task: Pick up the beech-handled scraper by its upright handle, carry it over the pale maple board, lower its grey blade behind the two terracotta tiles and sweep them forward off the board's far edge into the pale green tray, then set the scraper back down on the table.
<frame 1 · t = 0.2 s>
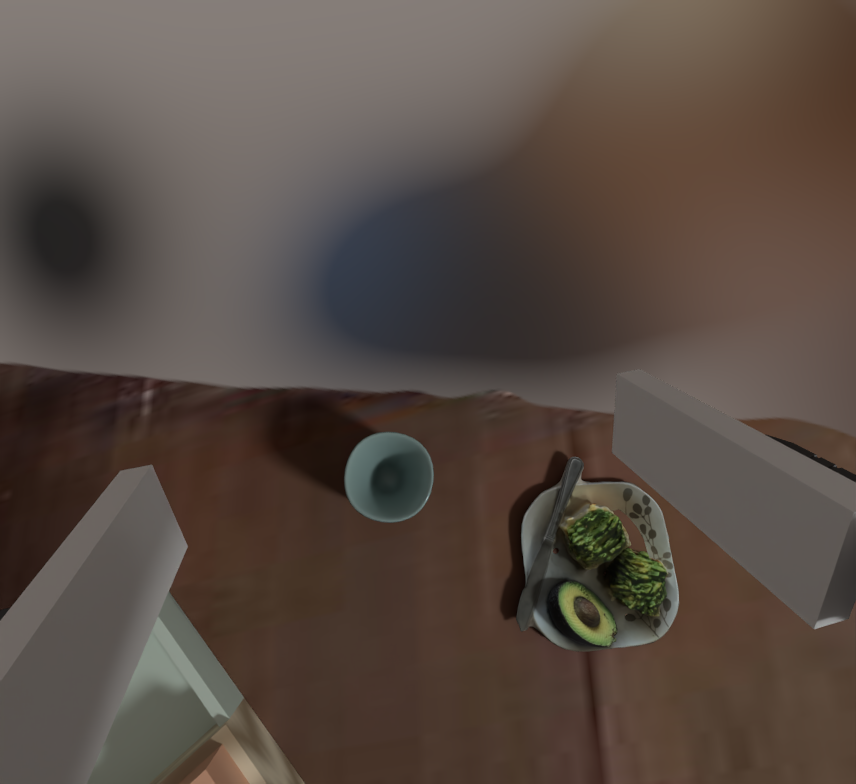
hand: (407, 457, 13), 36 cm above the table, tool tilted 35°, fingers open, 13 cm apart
cup: (388, 479, 48), on the table
tray: (104, 716, 40), on the table
salad plate: (589, 565, 48), on the table
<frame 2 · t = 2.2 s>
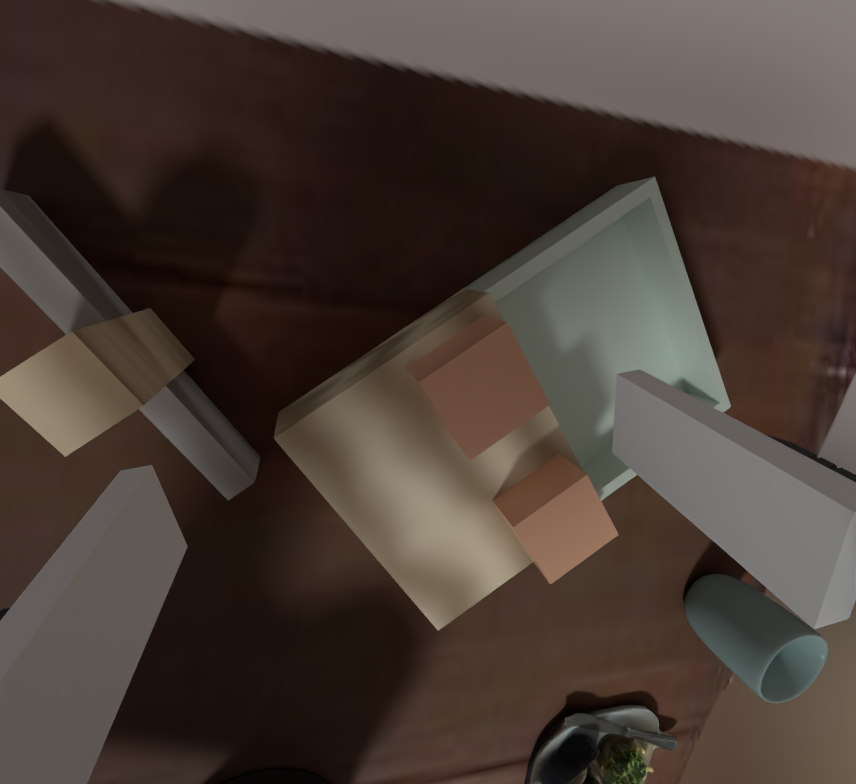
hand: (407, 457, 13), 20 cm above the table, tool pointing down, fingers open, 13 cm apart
board: (440, 450, 36), on the table
tile a: (542, 505, 33), point 5 cm above the table, touching board
tile b: (467, 379, 29), point 5 cm above the table, touching board
scraper: (146, 351, 28), on the table
cup: (700, 590, 49), on the table
tray: (590, 346, 37), on the table
salad plate: (582, 751, 52), on the table
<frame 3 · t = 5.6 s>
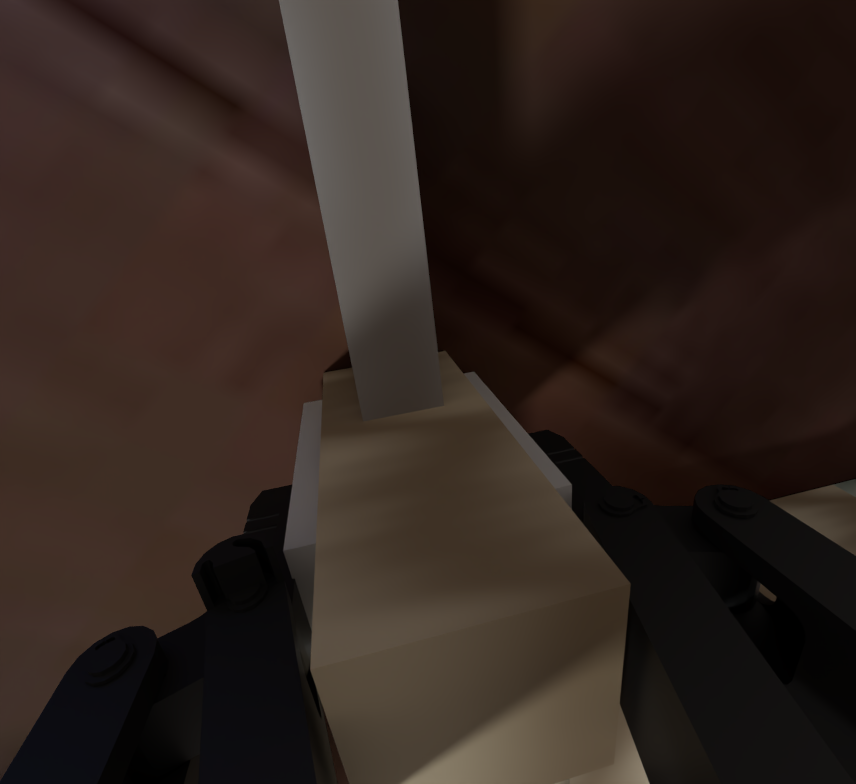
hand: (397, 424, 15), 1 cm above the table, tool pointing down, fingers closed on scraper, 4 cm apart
board: (661, 667, 24), on the table
scraper: (394, 416, 15), on the table, touching gripper
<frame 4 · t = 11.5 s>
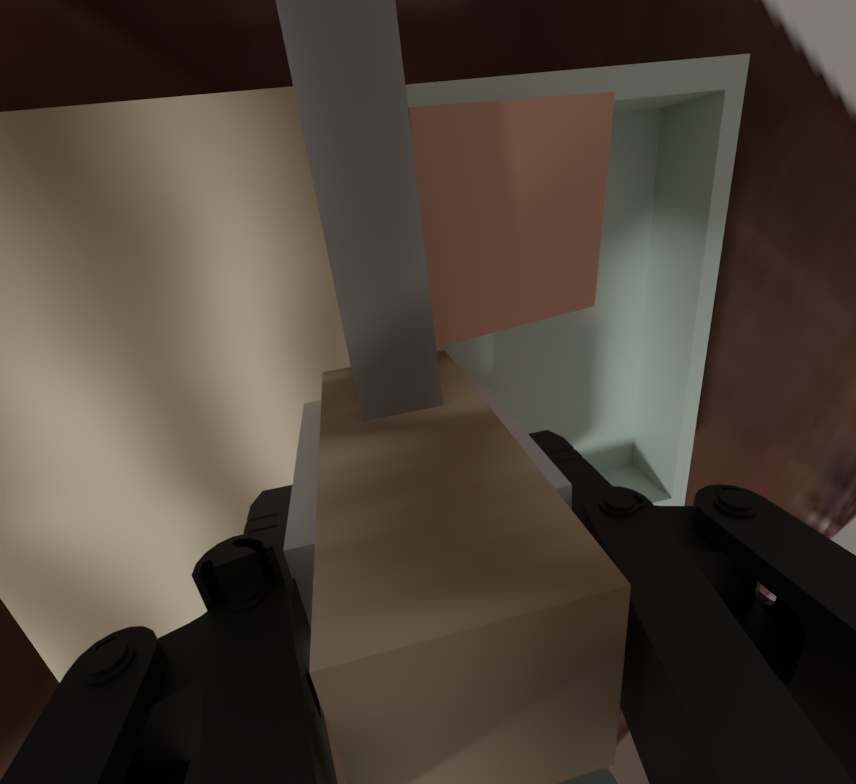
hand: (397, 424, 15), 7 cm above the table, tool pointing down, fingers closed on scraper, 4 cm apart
board: (213, 386, 20), on the table
tile b: (462, 214, 15), point 4 cm above the table, tilted 13°
scraper: (394, 415, 15), point 7 cm above the table, touching gripper
cup: (534, 725, 36), on the table
tray: (524, 332, 22), on the table
when the fingers open (2 cm above the table, at t = 19.2 s): scraper drops 2 cm, on the table.
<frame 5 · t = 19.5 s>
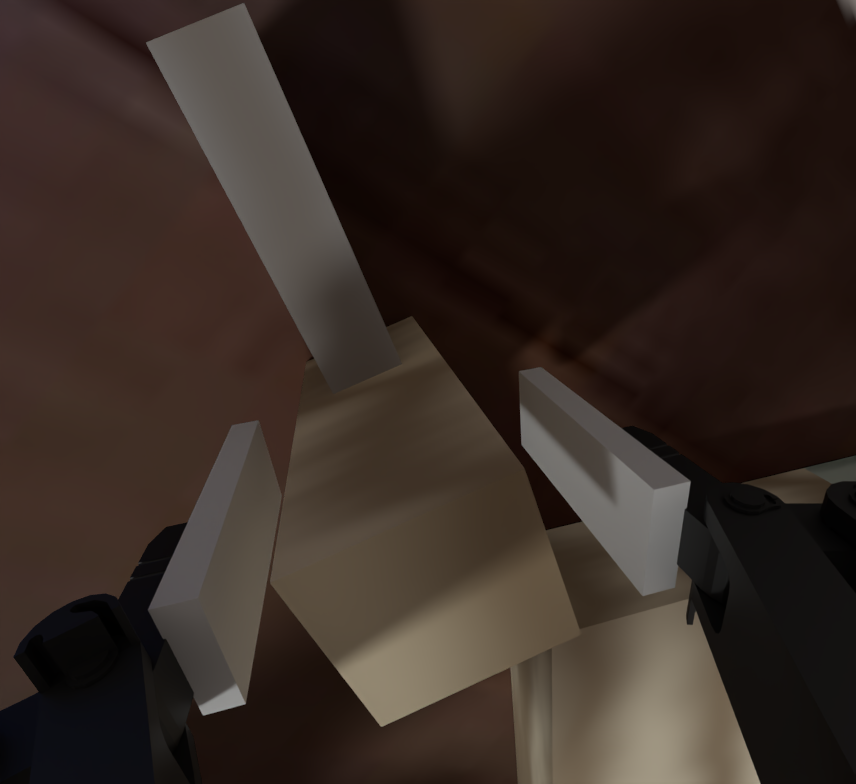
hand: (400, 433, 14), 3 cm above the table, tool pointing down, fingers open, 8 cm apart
board: (644, 643, 25), on the table
scraper: (382, 387, 16), on the table
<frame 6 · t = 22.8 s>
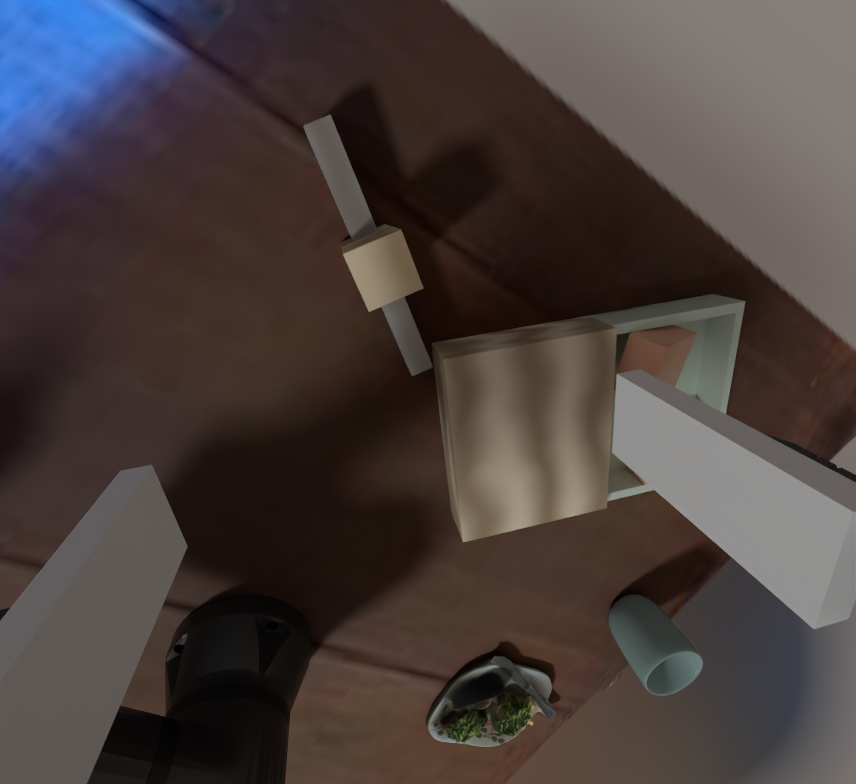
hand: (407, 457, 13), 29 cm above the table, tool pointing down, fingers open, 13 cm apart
board: (515, 420, 47), on the table
tile b: (636, 354, 44), point 3 cm above the table, tilted 30°, touching tray
scraper: (371, 256, 38), on the table
cup: (624, 605, 63), on the table
tray: (643, 393, 49), on the table
salad plate: (486, 692, 64), on the table
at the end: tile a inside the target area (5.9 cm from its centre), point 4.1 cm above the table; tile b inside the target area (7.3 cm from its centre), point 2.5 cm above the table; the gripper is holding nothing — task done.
